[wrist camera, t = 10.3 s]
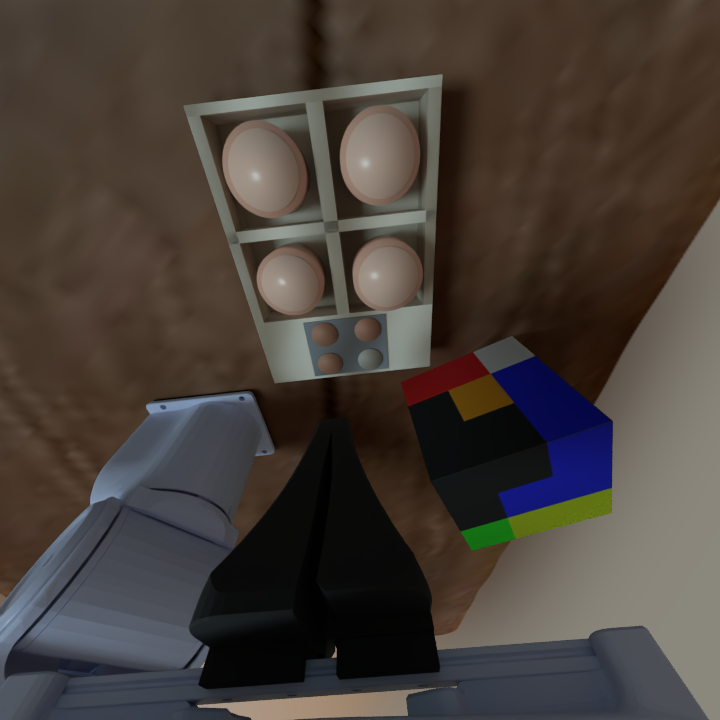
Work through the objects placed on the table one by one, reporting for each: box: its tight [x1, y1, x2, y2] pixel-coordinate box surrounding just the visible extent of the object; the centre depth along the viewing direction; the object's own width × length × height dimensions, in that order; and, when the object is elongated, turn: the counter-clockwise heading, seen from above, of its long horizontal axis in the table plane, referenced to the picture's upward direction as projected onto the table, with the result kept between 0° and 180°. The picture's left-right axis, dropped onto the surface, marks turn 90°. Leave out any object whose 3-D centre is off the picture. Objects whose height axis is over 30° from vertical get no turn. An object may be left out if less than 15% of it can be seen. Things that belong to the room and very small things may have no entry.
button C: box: [222, 120, 310, 218], centre depth 14 cm, size 4×4×2 cm
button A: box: [257, 243, 326, 315], centre depth 17 cm, size 4×4×2 cm
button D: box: [340, 105, 420, 206], centre depth 14 cm, size 4×4×2 cm
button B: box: [352, 235, 423, 311], centre depth 16 cm, size 4×4×2 cm
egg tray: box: [184, 74, 442, 383], centre depth 18 cm, size 12×16×3 cm
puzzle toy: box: [401, 336, 613, 551], centre depth 22 cm, size 10×10×10 cm
